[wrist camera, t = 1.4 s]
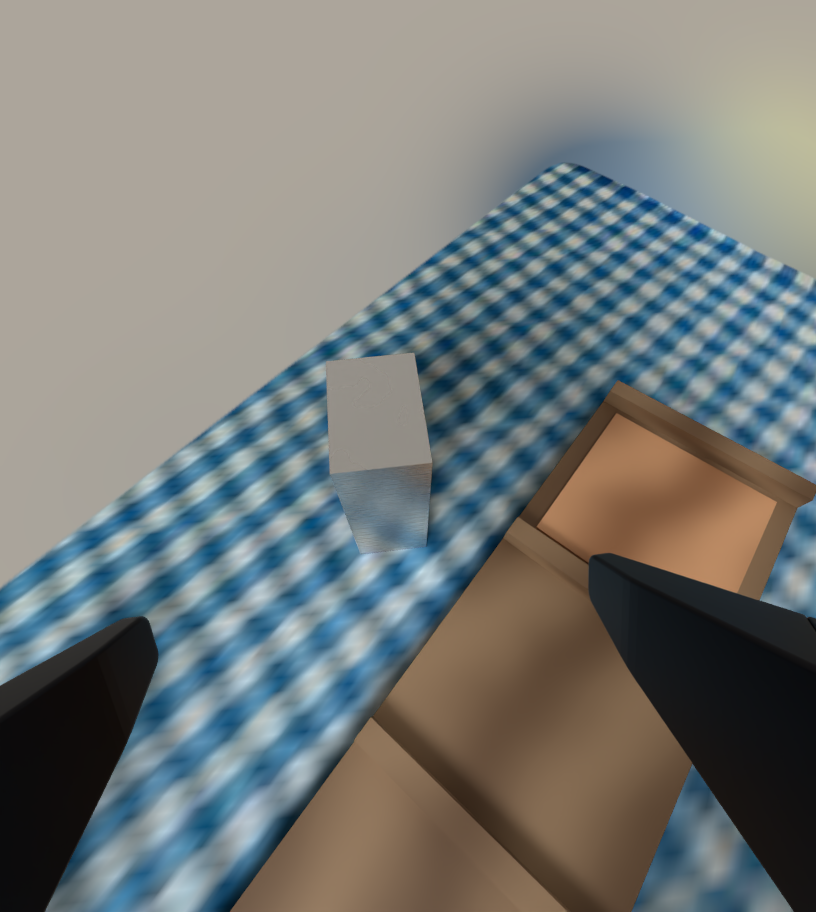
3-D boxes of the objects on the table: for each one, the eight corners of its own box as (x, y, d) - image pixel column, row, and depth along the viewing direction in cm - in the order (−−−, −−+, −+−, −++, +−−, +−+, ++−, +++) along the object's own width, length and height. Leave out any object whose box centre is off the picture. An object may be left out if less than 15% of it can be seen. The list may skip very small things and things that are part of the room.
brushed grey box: (426, 546, 23) (432, 462, 15) (360, 554, 23) (329, 474, 15) (414, 464, 25) (414, 352, 17) (355, 471, 25) (325, 361, 17)
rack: (785, 502, 24) (818, 486, 22) (388, 1435, 11) (382, 1584, 9) (603, 402, 27) (617, 380, 25) (144, 1030, 15) (104, 1079, 13)
